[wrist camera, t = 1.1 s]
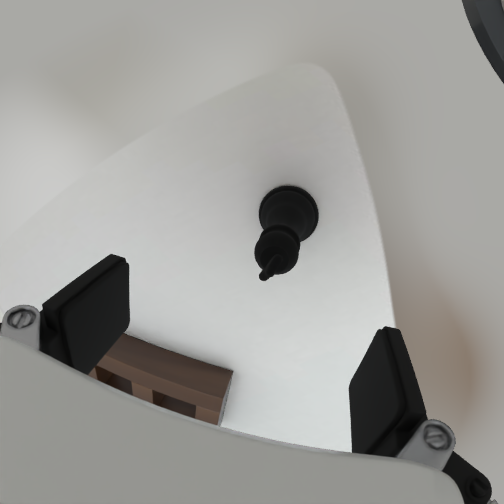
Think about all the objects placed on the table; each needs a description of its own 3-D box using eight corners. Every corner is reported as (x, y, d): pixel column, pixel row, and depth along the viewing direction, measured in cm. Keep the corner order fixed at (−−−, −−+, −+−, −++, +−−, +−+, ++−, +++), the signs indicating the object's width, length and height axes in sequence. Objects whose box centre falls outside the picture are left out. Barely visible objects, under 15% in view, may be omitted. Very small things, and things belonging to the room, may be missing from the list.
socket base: (92, 320, 32) (73, 339, 28) (233, 371, 30) (223, 399, 26) (102, 375, 36) (87, 394, 32) (221, 421, 34) (213, 445, 30)
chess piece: (248, 219, 24) (205, 279, 15) (281, 173, 22) (256, 206, 13) (294, 253, 24) (279, 330, 15) (330, 209, 22) (339, 267, 13)
